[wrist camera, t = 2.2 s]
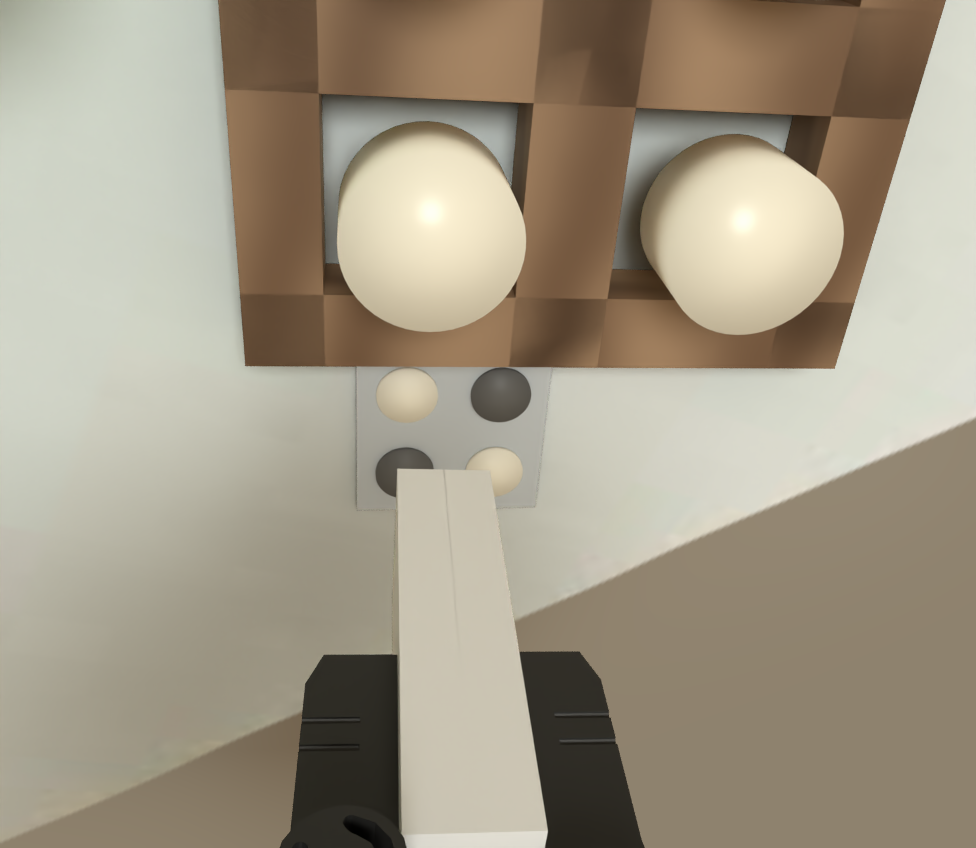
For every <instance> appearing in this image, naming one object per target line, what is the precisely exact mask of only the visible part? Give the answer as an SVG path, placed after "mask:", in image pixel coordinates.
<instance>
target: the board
mask: <svg viewBox="0 0 976 848" xmlns="http://www.w3.org/2000/svg"><path fill="white" fill-rule="evenodd" d="M945 1H946V0H218V4H219V17H220V31H221V44H222V58H223V71H224V85H225V98H226V112H227V125H228V138H229V152H230V165H231V179H232V192H233V206H234V219H235V233H236V246H237V259H238V273H239V286H240V300H241V313H242V327H243V340H244V354H245V366H344V367H583V368H823V369H835V366H836V362H837V359H838V356H839V352H840V349H841V346H842V342H843V339H844V336H845V332H846V329H847V326H848V323H849V319H850V316H851V313H852V309H853V306H854V303H855V299H856V296H857V293H858V289H859V286H860V283H861V279H862V276H863V273H864V270H865V266H866V263H867V260H868V256H869V253H870V250H871V246H872V243H873V240H874V236H875V233H876V230H877V227H878V223H879V220H880V217H881V213H882V210H883V207H884V203H885V200H886V197H887V193H888V190H889V187H890V183H891V180H892V177H893V174H894V170H895V167H896V164H897V160H898V157H899V154H900V150H901V147H902V144H903V140H904V137H905V134H906V131H907V127H908V124H909V121H910V117H911V114H912V111H913V107H914V104H915V101H916V97H917V94H918V91H919V87H920V84H921V81H922V78H923V74H924V71H925V68H926V64H927V61H928V58H929V54H930V51H931V48H932V44H933V41H934V38H935V35H936V31H937V28H938V25H939V21H940V18H941V15H942V11H943V8H944V5H945ZM322 94H339V95H361V96H383V97H406V98H428V99H451V100H473V101H495V102H518V103H519V106H518V117H517V129H516V141H515V152H514V164H513V176H512V187H511V190H512V192H513V194H514V196H515V199H516V201H517V203H518V206H519V208H520V211H521V213H522V216H523V220H524V224H525V231H526V251H525V257H524V262H523V265H522V268H521V272H520V274H519V276H518V278H517V280H516V282H515V284H514V286H513V287H512V289H511V290H510V292H509V293H508V294H507V296H506V297H505V298H504V299H503V301H502V302H501V303H500V304H498V305H497V306H496V307H495V308H494V309H493V310H492V311H490V312H489V313H488V314H486V315H485V316H483V317H482V318H480V319H478V320H476V321H475V322H472V323H470V324H468V325H465V326H463V327H459V328H456V329H453V330H447V331H441V332H421V331H413V330H408V329H404V328H401V327H398V326H395V325H392V324H390V323H388V322H386V321H384V320H382V319H381V318H379V317H377V316H376V315H374V314H373V313H372V312H370V311H369V310H368V309H367V308H365V307H364V305H363V304H362V303H361V302H360V301H359V300H358V299H357V298H356V297H355V295H354V294H353V292H352V291H351V290H350V288H349V286H348V284H347V283H346V281H345V279H344V276H343V273H342V271H341V268H340V264H325V222H324V177H323V131H322ZM636 108H652V109H675V110H697V111H719V112H742V113H764V114H787V115H794V116H793V120H792V124H791V128H790V132H789V137H788V141H787V145H786V149H785V153H784V154H786V155H787V156H788V157H790V158H791V159H792V160H794V161H795V162H796V163H798V164H799V165H800V166H802V167H803V168H804V169H806V170H807V171H809V172H810V173H811V174H813V175H814V176H815V177H817V178H818V179H819V180H820V181H821V182H823V183H824V184H825V185H826V186H827V187H828V189H829V190H830V191H831V192H832V194H833V195H834V197H835V199H836V201H837V203H838V205H839V208H840V211H841V214H842V219H843V228H844V237H843V247H842V251H841V256H840V259H839V261H838V264H837V267H836V269H835V271H834V273H833V275H832V277H831V279H830V281H829V282H828V284H827V285H826V287H825V288H824V290H823V291H822V292H821V293H820V295H819V296H818V297H817V298H816V299H815V300H814V301H813V302H812V303H811V304H810V305H809V306H808V307H807V308H806V309H804V310H803V311H802V312H801V313H800V314H798V315H797V316H795V317H794V318H792V319H791V320H789V321H787V322H785V323H783V324H781V325H779V326H777V327H774V328H772V329H769V330H766V331H762V332H759V333H753V334H746V335H731V334H723V333H718V332H715V331H712V330H709V329H707V328H705V327H703V326H701V325H699V324H697V323H696V322H695V321H693V320H692V319H691V318H690V317H689V316H688V315H687V314H686V313H685V312H684V311H683V310H682V309H681V307H680V306H679V304H678V303H677V302H676V300H675V299H674V297H673V296H672V294H671V293H670V291H669V290H668V289H667V287H666V286H665V284H664V283H663V281H662V280H661V278H660V277H659V276H658V274H657V273H656V271H655V270H625V269H612V265H613V259H614V252H615V245H616V239H617V232H618V225H619V219H620V212H621V205H622V199H623V192H624V185H625V179H626V172H627V165H628V159H629V152H630V145H631V139H632V132H633V125H634V119H635V112H636Z"/></svg>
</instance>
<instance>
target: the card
mask: <svg viewBox="0 0 976 848" xmlns="http://www.w3.org/2000/svg"><path fill="white" fill-rule="evenodd" d="M551 374H552V367H356V415H357V511H359V510H396V490H397V469H442V470H490V474H491V480H492V486H493V492H494V499H495V505H496V508H533V507H535V506H536V498H537V489H538V481H539V473H540V465H541V457H542V448H543V440H544V432H545V424H546V415H547V407H548V399H549V391H550V383H551Z"/></svg>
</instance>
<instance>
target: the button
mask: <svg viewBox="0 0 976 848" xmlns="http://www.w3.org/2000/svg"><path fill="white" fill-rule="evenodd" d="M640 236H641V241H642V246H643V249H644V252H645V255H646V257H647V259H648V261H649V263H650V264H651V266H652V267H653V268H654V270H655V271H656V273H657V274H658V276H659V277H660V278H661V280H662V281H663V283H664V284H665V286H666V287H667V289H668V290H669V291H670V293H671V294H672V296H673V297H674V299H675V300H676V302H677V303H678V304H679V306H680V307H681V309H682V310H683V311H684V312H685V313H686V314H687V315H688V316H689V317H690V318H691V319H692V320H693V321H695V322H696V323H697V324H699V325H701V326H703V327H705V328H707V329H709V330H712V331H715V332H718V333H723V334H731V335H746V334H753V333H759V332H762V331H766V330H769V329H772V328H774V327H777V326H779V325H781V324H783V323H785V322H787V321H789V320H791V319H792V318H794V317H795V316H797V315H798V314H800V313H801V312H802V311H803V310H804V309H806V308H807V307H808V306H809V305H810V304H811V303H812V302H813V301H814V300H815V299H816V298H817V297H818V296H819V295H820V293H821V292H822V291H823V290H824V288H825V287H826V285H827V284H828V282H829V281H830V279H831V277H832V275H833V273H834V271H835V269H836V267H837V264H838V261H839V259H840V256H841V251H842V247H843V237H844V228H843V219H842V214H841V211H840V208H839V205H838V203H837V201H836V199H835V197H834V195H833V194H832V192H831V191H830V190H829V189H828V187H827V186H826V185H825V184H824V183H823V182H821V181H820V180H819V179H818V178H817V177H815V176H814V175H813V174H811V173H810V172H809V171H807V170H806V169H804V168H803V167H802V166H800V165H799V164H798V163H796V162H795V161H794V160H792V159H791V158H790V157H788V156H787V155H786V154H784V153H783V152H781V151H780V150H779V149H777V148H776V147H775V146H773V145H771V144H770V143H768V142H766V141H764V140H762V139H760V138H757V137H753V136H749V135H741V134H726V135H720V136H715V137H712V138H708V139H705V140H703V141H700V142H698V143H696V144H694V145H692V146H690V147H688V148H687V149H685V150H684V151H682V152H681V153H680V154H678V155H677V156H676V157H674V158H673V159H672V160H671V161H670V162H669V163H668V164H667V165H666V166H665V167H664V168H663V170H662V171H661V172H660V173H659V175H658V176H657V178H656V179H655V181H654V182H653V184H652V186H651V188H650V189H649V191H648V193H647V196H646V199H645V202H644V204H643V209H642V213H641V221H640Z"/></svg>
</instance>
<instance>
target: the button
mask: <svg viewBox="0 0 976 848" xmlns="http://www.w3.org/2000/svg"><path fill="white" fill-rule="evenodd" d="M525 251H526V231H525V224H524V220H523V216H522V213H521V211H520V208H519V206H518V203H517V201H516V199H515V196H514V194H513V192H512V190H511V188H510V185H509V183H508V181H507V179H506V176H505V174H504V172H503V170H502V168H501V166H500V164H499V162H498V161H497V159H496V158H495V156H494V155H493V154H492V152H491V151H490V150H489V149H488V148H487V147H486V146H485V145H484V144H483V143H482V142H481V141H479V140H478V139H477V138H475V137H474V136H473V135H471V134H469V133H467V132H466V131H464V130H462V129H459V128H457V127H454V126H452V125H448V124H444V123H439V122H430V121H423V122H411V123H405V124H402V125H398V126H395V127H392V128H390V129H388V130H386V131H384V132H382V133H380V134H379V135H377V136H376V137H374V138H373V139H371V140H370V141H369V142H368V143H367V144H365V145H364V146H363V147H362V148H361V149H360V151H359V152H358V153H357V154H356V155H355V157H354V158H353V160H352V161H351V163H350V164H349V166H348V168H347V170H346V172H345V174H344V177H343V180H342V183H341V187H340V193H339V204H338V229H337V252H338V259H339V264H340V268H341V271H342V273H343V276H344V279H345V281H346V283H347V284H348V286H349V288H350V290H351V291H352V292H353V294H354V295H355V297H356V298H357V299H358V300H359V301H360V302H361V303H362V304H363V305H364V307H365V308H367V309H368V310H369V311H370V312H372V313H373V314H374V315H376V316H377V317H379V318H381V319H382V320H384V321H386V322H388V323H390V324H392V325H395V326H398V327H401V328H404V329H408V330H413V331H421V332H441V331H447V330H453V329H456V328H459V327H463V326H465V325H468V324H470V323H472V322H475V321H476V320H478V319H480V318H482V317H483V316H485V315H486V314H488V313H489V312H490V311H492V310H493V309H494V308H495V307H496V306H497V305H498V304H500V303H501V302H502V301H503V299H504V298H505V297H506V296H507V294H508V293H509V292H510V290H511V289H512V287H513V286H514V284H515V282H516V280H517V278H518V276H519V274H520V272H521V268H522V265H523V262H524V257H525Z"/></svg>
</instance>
